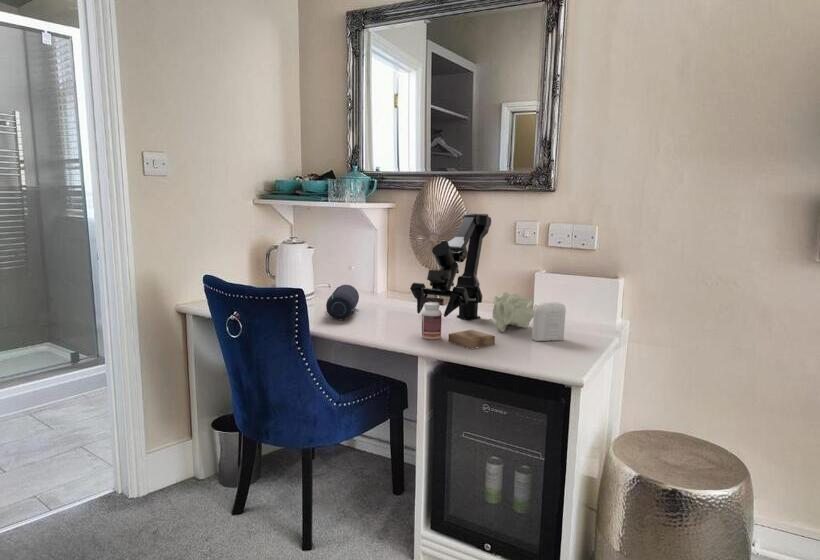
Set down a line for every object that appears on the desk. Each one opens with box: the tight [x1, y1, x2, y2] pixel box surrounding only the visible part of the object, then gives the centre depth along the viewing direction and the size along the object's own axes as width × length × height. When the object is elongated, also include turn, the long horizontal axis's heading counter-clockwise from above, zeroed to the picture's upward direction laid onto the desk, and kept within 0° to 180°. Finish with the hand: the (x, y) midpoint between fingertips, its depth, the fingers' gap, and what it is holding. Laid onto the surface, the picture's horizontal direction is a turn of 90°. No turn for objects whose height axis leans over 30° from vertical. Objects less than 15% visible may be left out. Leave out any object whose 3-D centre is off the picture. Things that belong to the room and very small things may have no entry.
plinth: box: [447, 329, 496, 349], centre depth 173 cm, size 10×10×3 cm
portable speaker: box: [325, 284, 360, 321], centre depth 208 cm, size 25×10×10 cm, turn 179°
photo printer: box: [531, 300, 566, 342], centre depth 178 cm, size 10×4×12 cm, turn 103°
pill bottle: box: [421, 301, 443, 341], centre depth 178 cm, size 6×6×11 cm
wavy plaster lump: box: [491, 291, 534, 333], centre depth 192 cm, size 18×13×16 cm
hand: (431, 314), depth 177 cm, fingers open, 9 cm apart
